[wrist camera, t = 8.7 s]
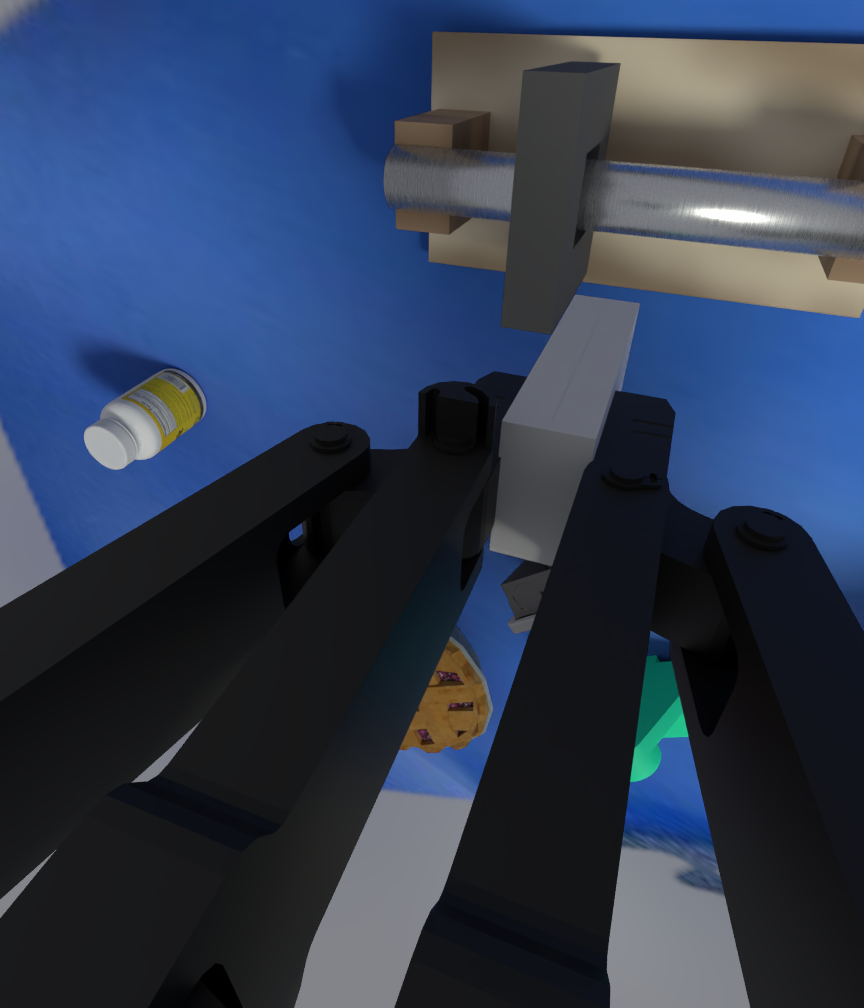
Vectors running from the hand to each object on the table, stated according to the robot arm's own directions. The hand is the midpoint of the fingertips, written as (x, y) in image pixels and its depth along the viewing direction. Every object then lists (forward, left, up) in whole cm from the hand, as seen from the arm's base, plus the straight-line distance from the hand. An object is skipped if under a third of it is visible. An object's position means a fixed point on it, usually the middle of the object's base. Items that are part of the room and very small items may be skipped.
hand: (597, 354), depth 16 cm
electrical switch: (-27, +1, -27) cm, 38 cm away
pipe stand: (0, +1, -26) cm, 26 cm away
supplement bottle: (-21, +38, -27) cm, 51 cm away
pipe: (0, +1, -20) cm, 20 cm away
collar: (0, +5, -23) cm, 24 cm away
